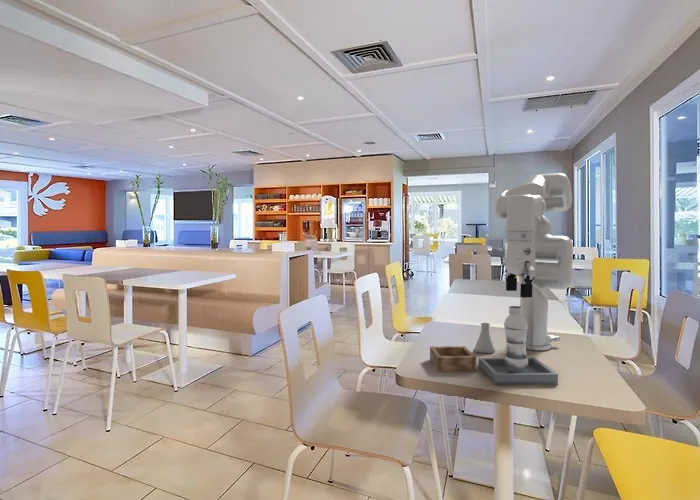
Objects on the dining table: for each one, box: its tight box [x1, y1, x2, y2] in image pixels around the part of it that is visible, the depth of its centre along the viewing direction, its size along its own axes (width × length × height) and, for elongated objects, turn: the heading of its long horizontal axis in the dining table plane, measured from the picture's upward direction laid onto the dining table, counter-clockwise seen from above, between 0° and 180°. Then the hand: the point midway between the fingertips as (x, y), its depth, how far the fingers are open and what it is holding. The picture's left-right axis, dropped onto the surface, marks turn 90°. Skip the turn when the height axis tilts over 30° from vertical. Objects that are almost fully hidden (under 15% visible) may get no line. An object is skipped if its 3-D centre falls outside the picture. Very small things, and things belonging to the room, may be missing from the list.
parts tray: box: [477, 356, 559, 386], centre depth 119 cm, size 18×14×3 cm
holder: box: [429, 345, 477, 373], centre depth 128 cm, size 12×11×4 cm
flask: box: [474, 322, 496, 354], centre depth 142 cm, size 7×7×10 cm
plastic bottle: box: [503, 305, 528, 373], centre depth 119 cm, size 6×7×20 cm
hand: (518, 293), depth 118 cm, fingers open, 9 cm apart
